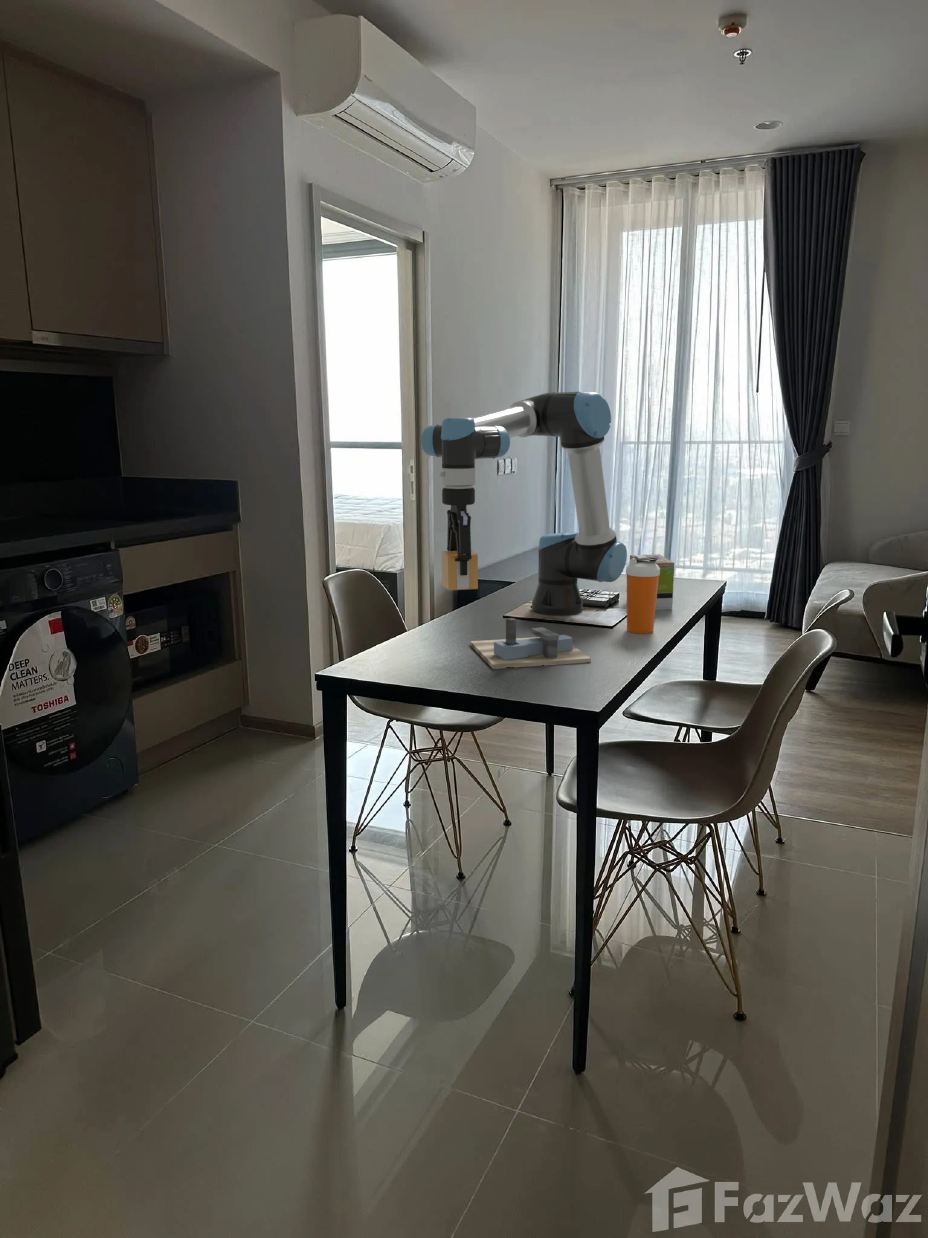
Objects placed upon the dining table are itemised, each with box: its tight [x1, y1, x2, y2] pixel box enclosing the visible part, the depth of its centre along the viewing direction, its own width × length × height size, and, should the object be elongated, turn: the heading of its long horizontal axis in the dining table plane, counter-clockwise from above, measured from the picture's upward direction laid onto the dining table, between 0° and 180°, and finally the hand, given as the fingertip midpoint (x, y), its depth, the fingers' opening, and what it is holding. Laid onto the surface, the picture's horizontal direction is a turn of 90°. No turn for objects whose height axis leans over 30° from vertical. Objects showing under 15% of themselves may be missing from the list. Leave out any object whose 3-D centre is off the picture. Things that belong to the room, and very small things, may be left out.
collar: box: [441, 550, 479, 591], centre depth 204 cm, size 7×7×8 cm
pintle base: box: [469, 617, 592, 669], centre depth 214 cm, size 22×24×10 cm
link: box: [494, 634, 574, 660], centre depth 211 cm, size 19×6×3 cm, turn 115°
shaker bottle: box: [625, 556, 660, 635], centre depth 235 cm, size 9×9×20 cm
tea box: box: [629, 554, 675, 611], centre depth 267 cm, size 15×10×15 cm, turn 5°
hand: (459, 585), depth 205 cm, fingers closed on collar, 7 cm apart
